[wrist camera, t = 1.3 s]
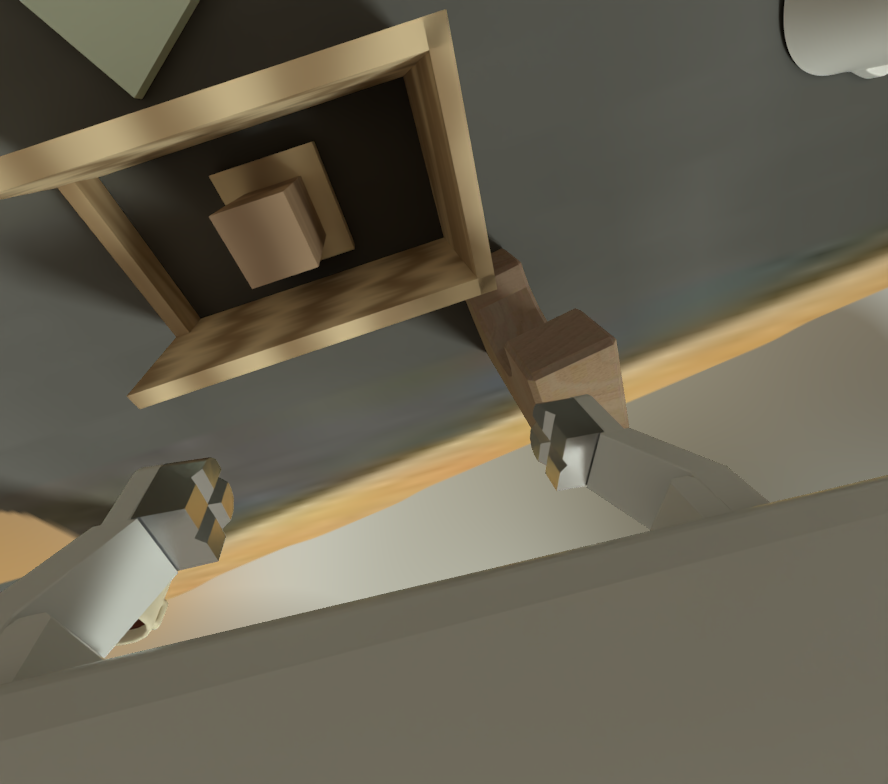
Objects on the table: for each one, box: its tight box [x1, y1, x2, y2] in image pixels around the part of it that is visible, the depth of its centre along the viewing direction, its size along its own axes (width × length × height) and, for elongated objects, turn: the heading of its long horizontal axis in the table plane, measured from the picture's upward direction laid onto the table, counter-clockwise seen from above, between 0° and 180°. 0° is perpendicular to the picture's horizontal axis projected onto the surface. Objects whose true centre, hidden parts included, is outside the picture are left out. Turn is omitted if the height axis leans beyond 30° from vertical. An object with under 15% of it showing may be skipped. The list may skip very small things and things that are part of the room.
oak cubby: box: [0, 9, 497, 409], centre depth 27 cm, size 26×14×12 cm, turn 105°
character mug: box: [115, 581, 171, 646], centre depth 43 cm, size 11×7×13 cm, turn 17°
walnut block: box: [209, 176, 326, 289], centre depth 27 cm, size 4×4×9 cm
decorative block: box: [465, 249, 629, 429], centre depth 32 cm, size 11×6×20 cm, turn 22°
